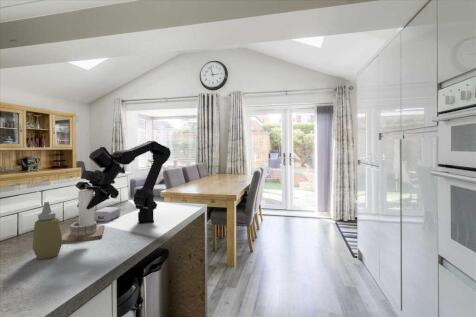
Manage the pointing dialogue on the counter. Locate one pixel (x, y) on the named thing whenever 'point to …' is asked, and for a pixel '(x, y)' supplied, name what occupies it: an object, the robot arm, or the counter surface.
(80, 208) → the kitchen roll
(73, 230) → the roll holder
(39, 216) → the squeeze bottle
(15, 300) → the counter surface
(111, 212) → the charger
